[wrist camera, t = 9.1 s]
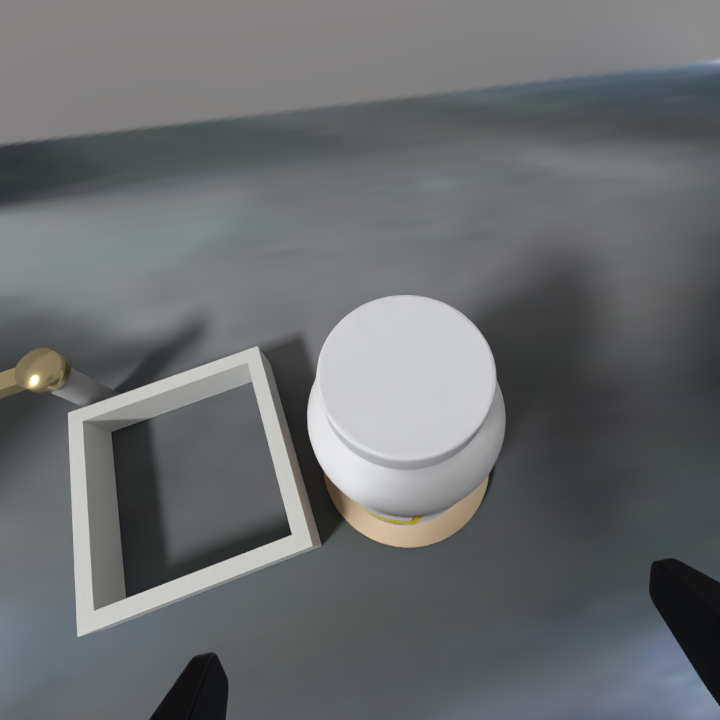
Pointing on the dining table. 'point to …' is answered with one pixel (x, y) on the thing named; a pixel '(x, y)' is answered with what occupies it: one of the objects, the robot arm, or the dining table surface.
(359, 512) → the coaster
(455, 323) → the supplement bottle
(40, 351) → the brass lever handle
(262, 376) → the socket collar
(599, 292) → the dining table surface
